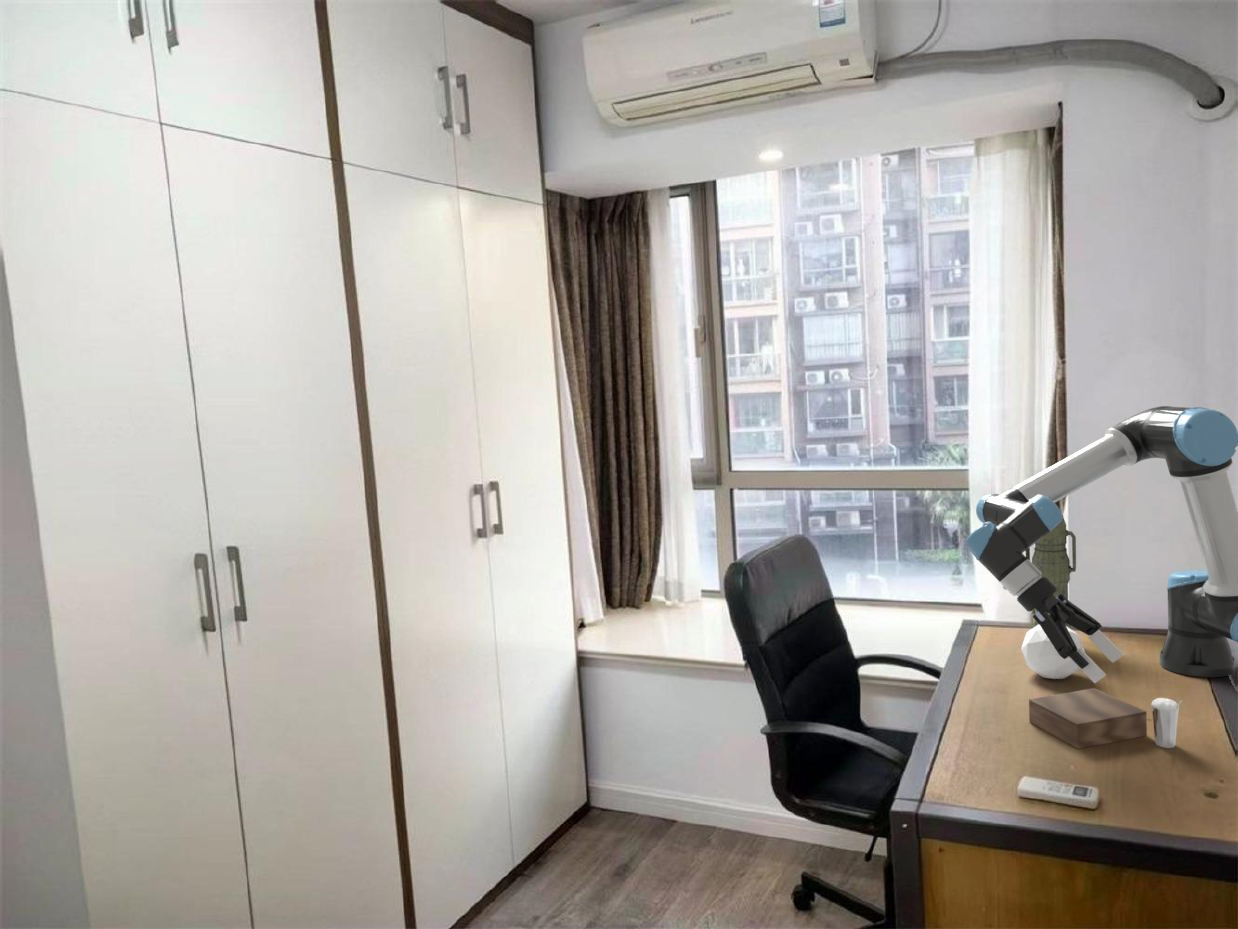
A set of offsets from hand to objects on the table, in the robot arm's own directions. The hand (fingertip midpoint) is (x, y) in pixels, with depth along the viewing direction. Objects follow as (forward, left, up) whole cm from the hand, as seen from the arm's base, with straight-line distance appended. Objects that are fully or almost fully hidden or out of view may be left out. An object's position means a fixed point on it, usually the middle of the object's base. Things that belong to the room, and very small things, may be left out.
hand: (1109, 669), depth 178 cm
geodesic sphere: (-12, -31, -14) cm, 36 cm away
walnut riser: (+2, -4, -14) cm, 15 cm away
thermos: (-27, -50, -14) cm, 59 cm away
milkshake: (-6, +8, -14) cm, 17 cm away
